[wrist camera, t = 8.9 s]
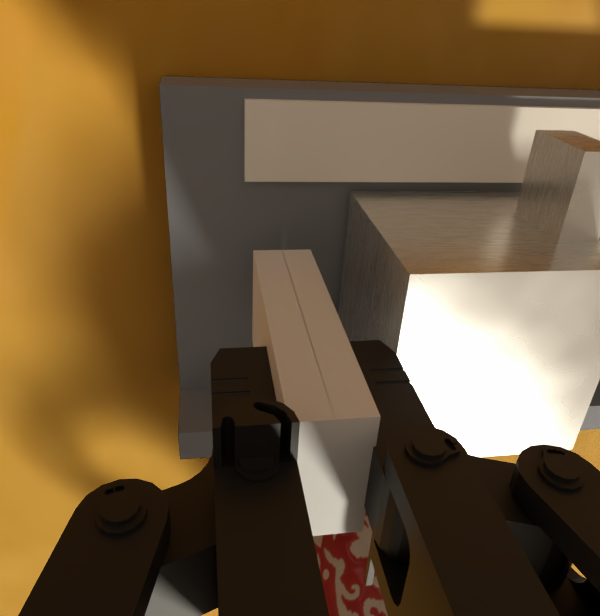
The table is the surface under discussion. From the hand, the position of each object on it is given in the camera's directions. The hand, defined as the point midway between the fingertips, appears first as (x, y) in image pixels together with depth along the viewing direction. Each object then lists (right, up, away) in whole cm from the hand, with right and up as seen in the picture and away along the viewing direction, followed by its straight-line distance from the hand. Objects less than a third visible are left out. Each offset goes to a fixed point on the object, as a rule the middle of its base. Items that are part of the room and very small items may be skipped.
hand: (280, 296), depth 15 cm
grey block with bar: (+11, +2, +2) cm, 12 cm away
